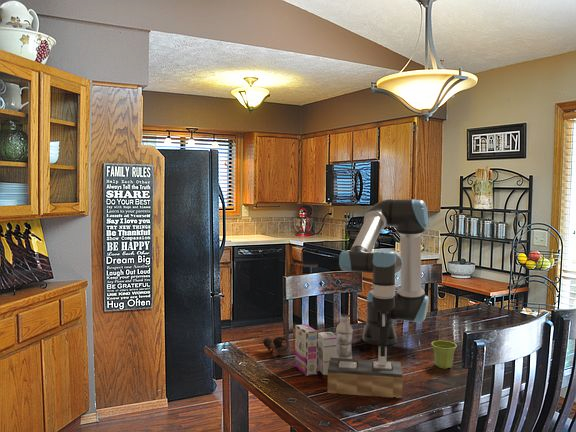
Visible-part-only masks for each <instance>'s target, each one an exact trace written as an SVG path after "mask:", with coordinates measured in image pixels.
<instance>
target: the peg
mask: <svg viewBox="0 0 576 432" xmlns="http://www.w3.org/2000/svg"><path fill="white" fill-rule="evenodd" d="M373 370H385V371H392V367H391V362H386V365H378V362H376V361H373Z"/></svg>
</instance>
